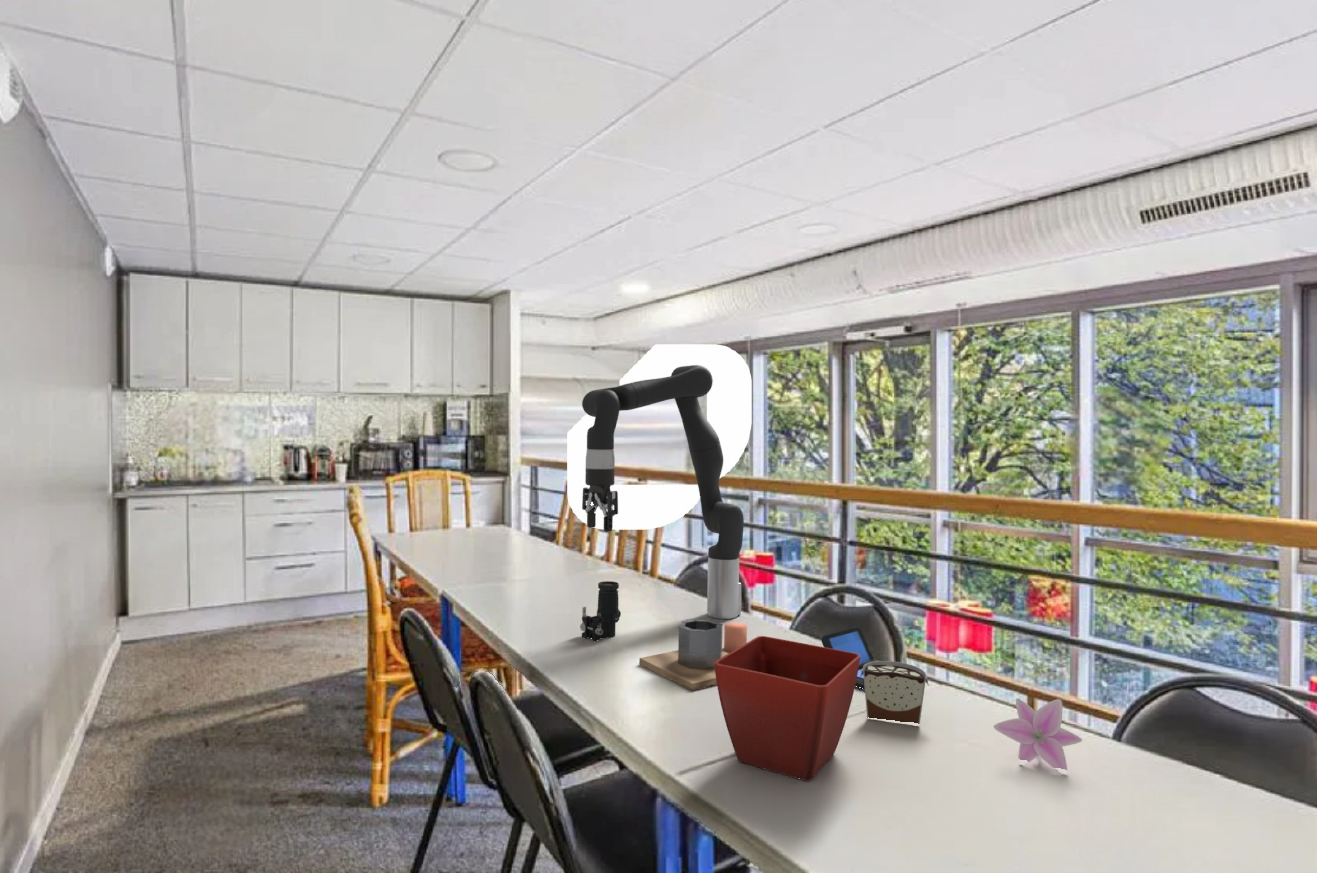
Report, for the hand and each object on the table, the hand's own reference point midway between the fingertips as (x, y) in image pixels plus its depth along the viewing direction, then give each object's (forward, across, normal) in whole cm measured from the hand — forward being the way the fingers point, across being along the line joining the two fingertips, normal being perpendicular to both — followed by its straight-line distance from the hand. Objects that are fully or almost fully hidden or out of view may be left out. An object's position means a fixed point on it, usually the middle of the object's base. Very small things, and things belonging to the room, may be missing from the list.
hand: (599, 529), depth 187 cm
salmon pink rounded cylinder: (+29, -26, -25) cm, 46 cm away
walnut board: (+29, -33, -8) cm, 44 cm away
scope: (+29, +1, -2) cm, 29 cm away
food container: (+29, -75, -22) cm, 83 cm away
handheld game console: (+29, -56, -36) cm, 73 cm away
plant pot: (+29, -76, +8) cm, 82 cm away
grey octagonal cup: (+27, -33, -8) cm, 43 cm away
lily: (+29, -100, -27) cm, 107 cm away
